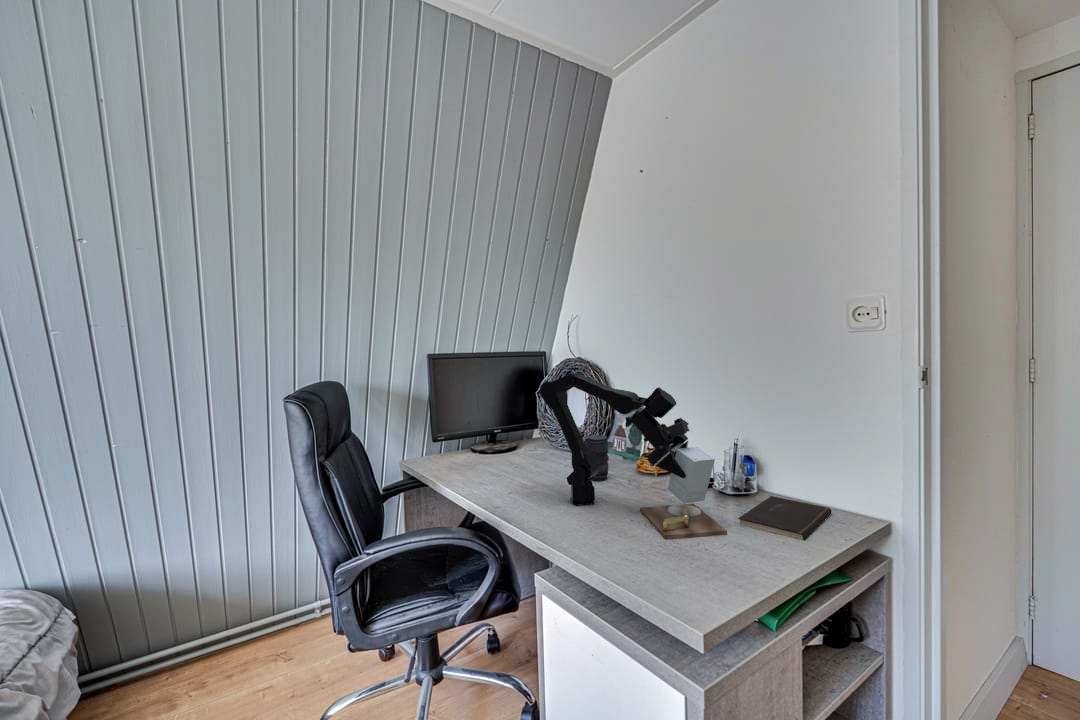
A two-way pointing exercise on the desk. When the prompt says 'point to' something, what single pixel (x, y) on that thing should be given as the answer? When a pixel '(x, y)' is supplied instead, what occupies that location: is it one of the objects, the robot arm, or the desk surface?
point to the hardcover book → (785, 517)
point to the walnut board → (697, 521)
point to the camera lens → (599, 454)
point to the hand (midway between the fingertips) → (690, 472)
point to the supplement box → (691, 475)
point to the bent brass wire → (677, 520)
